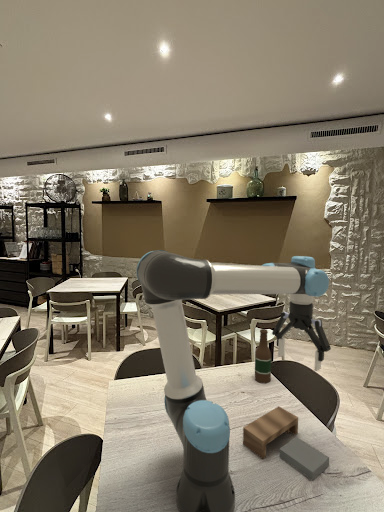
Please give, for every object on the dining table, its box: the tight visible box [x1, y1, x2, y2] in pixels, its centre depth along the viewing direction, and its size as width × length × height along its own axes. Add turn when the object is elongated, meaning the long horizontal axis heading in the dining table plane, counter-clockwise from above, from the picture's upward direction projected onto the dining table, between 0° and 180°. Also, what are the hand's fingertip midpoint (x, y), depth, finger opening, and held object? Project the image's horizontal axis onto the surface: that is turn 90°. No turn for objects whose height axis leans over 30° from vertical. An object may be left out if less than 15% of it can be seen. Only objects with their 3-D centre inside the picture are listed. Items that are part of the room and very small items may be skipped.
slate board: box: [279, 436, 330, 482], centre depth 88 cm, size 9×11×3 cm
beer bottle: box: [254, 328, 272, 384], centre depth 136 cm, size 8×8×24 cm
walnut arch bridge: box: [242, 406, 299, 460], centre depth 97 cm, size 19×8×6 cm, turn 128°
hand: (298, 362), depth 100 cm, fingers open, 13 cm apart
